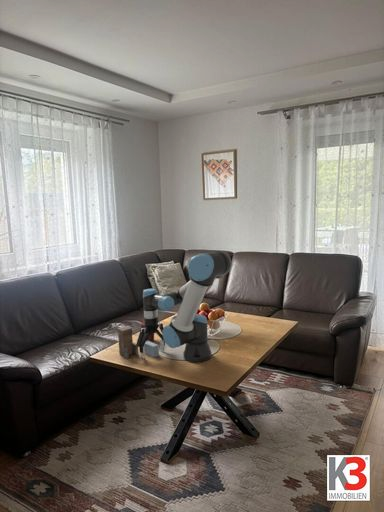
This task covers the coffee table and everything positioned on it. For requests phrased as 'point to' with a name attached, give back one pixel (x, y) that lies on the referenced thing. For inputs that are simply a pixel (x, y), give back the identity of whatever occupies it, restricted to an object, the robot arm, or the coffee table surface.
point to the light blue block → (151, 349)
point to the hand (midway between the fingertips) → (153, 354)
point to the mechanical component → (151, 337)
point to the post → (126, 342)
